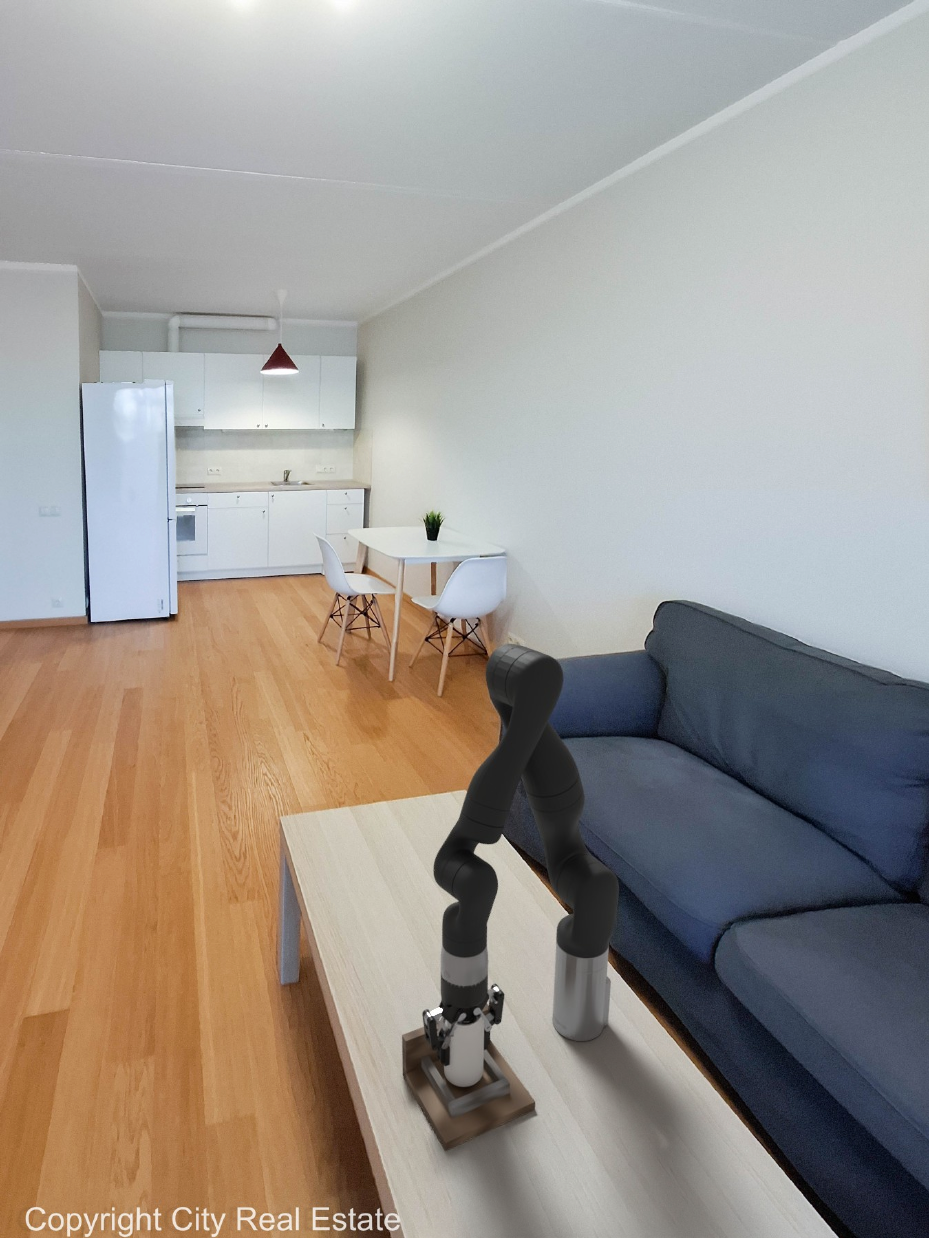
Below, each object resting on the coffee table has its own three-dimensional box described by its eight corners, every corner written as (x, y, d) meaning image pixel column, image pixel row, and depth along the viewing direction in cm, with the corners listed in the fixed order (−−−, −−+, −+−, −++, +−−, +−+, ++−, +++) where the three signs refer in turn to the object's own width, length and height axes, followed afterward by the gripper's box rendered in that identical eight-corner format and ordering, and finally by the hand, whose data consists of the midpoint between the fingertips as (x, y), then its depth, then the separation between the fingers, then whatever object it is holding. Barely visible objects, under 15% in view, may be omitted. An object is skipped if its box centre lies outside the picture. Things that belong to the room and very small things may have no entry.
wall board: (485, 1040, 142) (486, 1002, 140) (534, 1108, 128) (536, 1068, 126) (402, 1074, 135) (402, 1034, 133) (445, 1150, 121) (445, 1108, 119)
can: (482, 1056, 135) (483, 996, 132) (484, 1088, 129) (485, 1026, 126) (443, 1057, 135) (443, 997, 132) (444, 1089, 129) (444, 1027, 126)
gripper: (492, 940, 133) (490, 1023, 138) (412, 967, 127) (413, 1054, 131) (515, 967, 127) (513, 1054, 131) (433, 997, 120) (434, 1087, 125)
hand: (463, 1053), depth 131 cm, fingers closed on can, 6 cm apart
